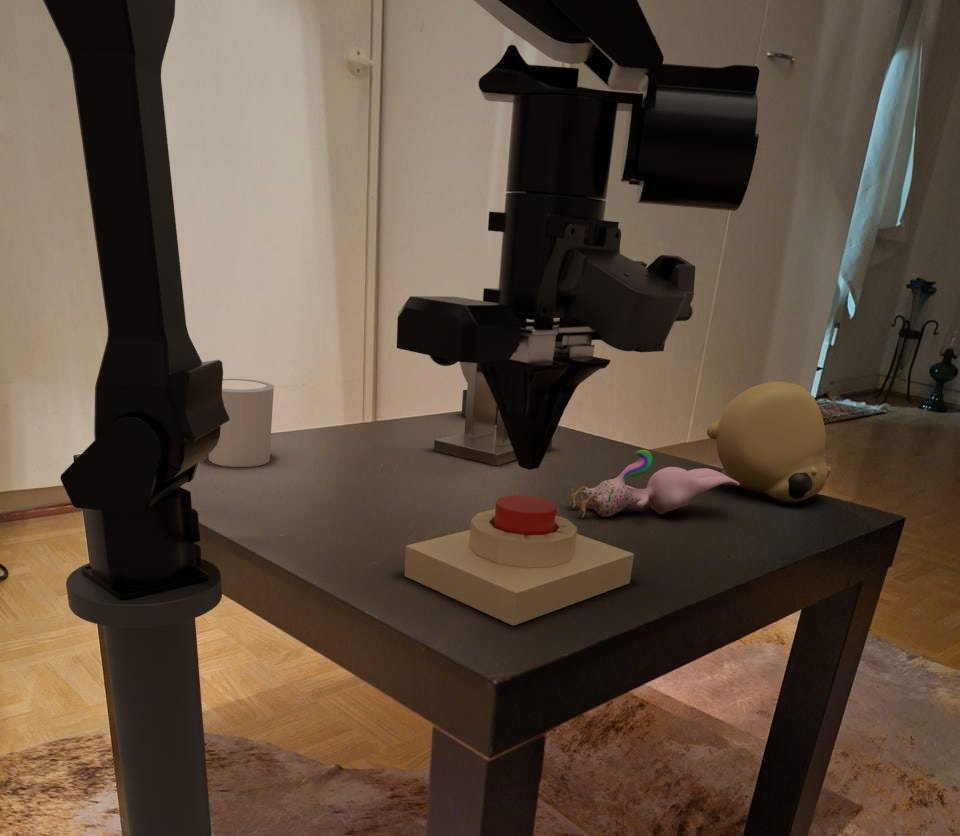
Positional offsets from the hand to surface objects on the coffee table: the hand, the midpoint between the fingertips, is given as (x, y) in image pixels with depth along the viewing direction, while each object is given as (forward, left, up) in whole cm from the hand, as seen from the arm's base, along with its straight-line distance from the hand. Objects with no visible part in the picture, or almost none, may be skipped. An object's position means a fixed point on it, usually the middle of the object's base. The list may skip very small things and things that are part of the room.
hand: (528, 467), depth 56 cm
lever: (+21, +27, +1) cm, 34 cm away
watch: (+38, +40, -8) cm, 56 cm away
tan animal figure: (+38, +2, -8) cm, 39 cm away
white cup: (+1, +37, -8) cm, 38 cm away
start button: (0, 0, -4) cm, 4 cm away
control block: (0, 0, -8) cm, 8 cm away
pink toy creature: (+22, +4, -8) cm, 24 cm away
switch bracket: (+26, +28, -8) cm, 39 cm away
